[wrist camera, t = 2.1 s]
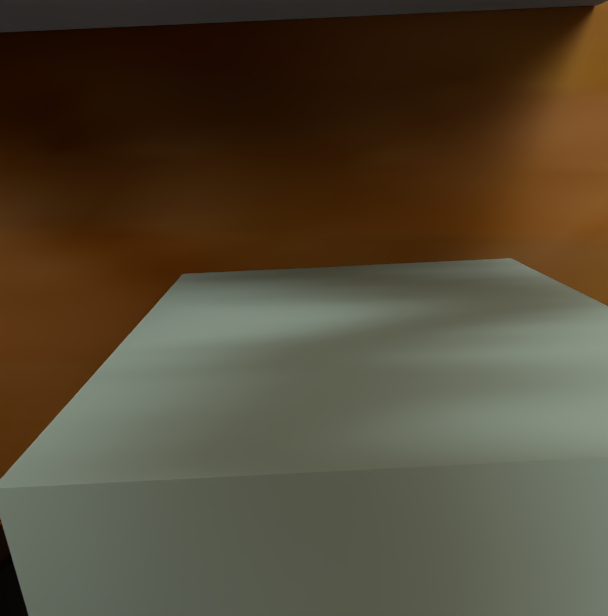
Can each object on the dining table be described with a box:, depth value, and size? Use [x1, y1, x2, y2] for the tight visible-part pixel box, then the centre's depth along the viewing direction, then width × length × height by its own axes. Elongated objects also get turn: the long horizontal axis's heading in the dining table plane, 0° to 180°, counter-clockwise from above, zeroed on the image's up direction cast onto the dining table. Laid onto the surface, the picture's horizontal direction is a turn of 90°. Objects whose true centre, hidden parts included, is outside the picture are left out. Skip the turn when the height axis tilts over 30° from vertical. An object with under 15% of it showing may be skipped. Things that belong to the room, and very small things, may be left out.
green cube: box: [0, 258, 608, 616], centre depth 7 cm, size 6×6×6 cm
